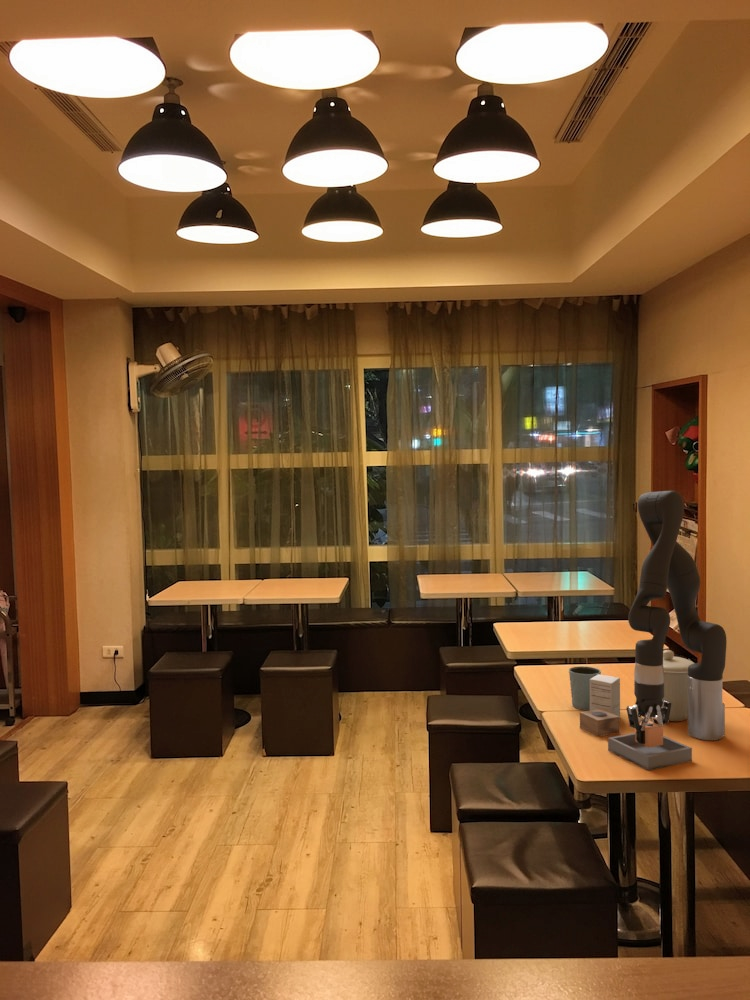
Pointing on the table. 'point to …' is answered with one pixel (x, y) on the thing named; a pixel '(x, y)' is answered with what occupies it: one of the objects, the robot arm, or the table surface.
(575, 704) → the teal cup
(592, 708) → the supplement box
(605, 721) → the walnut block
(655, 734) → the terracotta block
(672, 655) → the canister
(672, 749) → the charcoal tray
